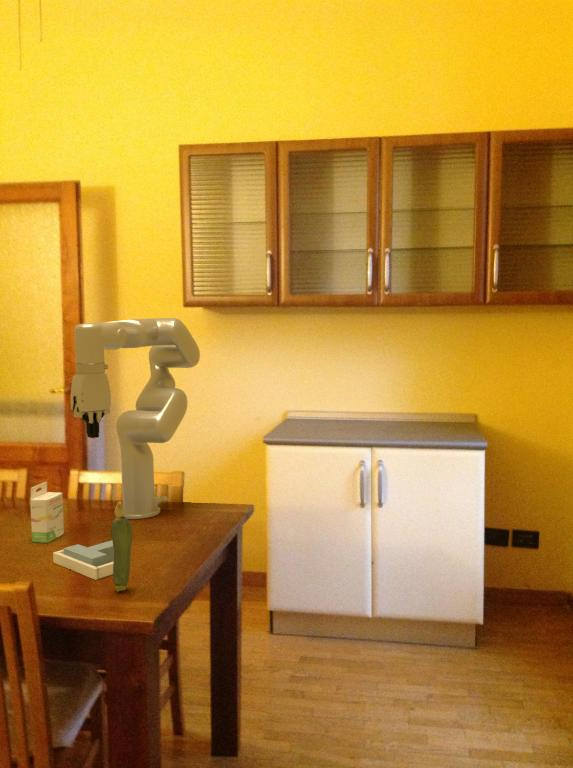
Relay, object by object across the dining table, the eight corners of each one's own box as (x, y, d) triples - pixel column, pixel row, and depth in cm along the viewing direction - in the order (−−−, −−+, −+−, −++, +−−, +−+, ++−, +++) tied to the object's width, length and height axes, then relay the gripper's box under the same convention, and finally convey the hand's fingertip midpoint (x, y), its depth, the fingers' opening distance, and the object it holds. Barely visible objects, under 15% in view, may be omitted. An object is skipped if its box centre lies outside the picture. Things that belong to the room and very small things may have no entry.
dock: (79, 555, 173) (78, 545, 173) (121, 571, 162) (121, 560, 161) (53, 562, 168) (53, 552, 168) (95, 579, 156) (95, 569, 156)
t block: (106, 551, 176) (105, 536, 176) (135, 561, 168) (134, 545, 168) (64, 564, 167) (63, 548, 166) (92, 575, 159) (91, 558, 159)
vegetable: (115, 586, 152) (111, 497, 150) (135, 585, 152) (131, 496, 151) (111, 594, 148) (108, 502, 146) (132, 593, 148) (129, 501, 146)
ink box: (48, 543, 183) (45, 488, 182) (31, 542, 184) (28, 488, 183) (65, 533, 192) (62, 481, 190) (48, 532, 193) (46, 480, 191)
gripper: (106, 367, 194) (108, 432, 196) (57, 371, 183) (60, 439, 184) (122, 368, 189) (124, 434, 191) (73, 372, 178) (76, 442, 179)
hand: (93, 437), depth 188 cm, fingers closed
